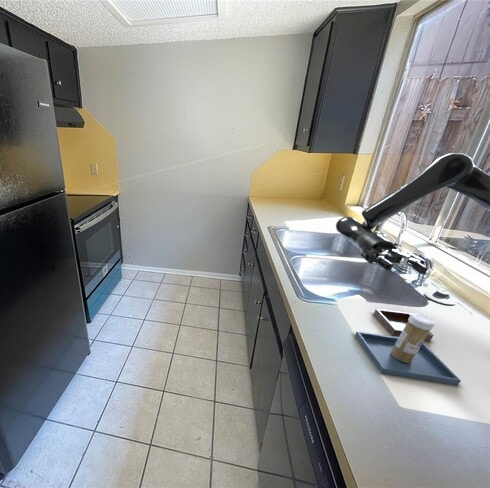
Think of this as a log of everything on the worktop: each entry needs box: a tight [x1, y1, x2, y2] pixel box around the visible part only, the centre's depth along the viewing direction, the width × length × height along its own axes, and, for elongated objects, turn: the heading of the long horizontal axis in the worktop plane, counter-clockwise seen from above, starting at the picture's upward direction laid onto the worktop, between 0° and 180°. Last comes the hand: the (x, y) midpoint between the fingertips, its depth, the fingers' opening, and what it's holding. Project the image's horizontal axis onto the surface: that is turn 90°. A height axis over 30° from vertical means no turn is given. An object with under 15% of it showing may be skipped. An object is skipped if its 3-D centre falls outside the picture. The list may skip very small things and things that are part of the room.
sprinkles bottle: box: [391, 312, 436, 363], centre depth 67 cm, size 5×5×13 cm
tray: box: [354, 331, 462, 386], centre depth 70 cm, size 17×13×2 cm
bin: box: [372, 308, 434, 343], centre depth 81 cm, size 10×10×3 cm
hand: (407, 269), depth 71 cm, fingers open, 8 cm apart
